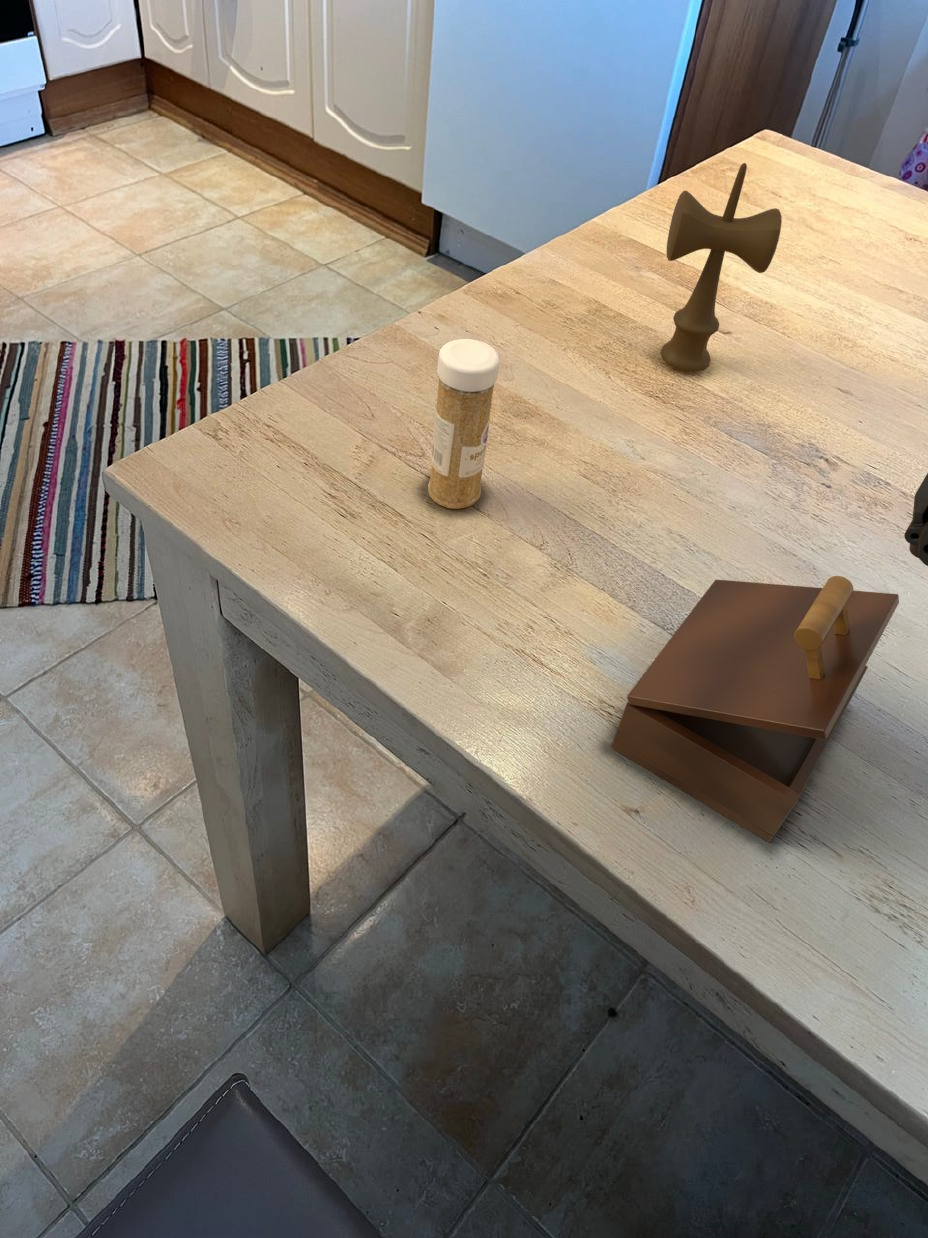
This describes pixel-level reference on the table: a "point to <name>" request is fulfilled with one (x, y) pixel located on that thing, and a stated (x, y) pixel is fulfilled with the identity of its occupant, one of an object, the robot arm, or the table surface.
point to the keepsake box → (724, 762)
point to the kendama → (713, 266)
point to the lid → (768, 655)
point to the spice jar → (461, 421)
